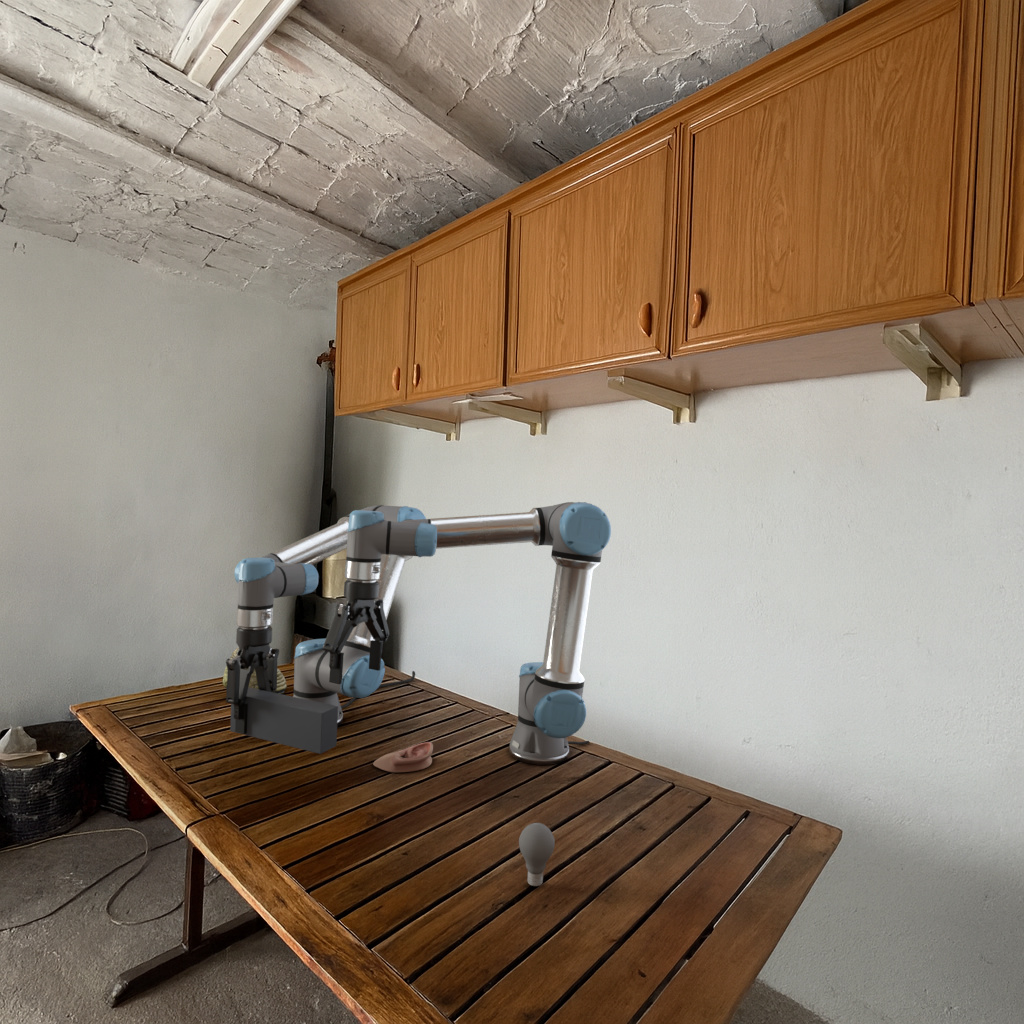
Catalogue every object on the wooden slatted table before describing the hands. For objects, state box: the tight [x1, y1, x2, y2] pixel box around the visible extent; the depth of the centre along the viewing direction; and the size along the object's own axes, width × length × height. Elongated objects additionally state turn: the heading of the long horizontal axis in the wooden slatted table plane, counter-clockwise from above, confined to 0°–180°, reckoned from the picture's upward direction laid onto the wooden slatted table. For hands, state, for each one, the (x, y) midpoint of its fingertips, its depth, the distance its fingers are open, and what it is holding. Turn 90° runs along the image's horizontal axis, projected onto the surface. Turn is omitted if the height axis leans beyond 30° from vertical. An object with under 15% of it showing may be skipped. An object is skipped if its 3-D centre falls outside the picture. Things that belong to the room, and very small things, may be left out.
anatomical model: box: [372, 741, 434, 773], centre depth 152 cm, size 13×4×12 cm
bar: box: [229, 687, 338, 755], centre depth 140 cm, size 26×5×9 cm, turn 66°
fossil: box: [222, 646, 288, 694], centre depth 198 cm, size 9×18×15 cm, turn 132°
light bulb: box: [518, 822, 556, 887], centre depth 106 cm, size 6×6×10 cm
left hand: (251, 728), depth 144 cm, fingers closed on bar, 5 cm apart
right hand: (355, 676), depth 140 cm, fingers open, 13 cm apart
